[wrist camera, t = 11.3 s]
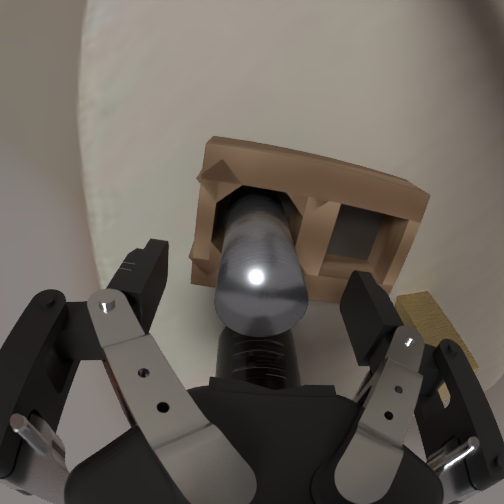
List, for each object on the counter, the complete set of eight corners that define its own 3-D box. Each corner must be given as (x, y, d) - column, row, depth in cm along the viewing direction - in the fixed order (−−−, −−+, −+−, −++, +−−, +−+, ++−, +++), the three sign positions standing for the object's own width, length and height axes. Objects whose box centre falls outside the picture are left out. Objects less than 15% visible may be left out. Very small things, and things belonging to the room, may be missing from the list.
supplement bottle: (290, 360, 28) (303, 470, 17) (222, 362, 28) (214, 472, 17) (296, 310, 24) (319, 438, 14) (216, 311, 24) (201, 441, 14)
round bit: (233, 180, 19) (220, 256, 10) (287, 189, 19) (320, 271, 10) (225, 229, 20) (210, 331, 12) (276, 237, 21) (294, 340, 12)
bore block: (209, 135, 17) (200, 142, 14) (405, 179, 19) (430, 195, 16) (194, 256, 22) (186, 283, 19) (368, 281, 23) (382, 307, 20)
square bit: (397, 296, 24) (444, 380, 15) (428, 291, 24) (479, 367, 15) (389, 324, 26) (427, 406, 17) (419, 319, 26) (461, 393, 17)
